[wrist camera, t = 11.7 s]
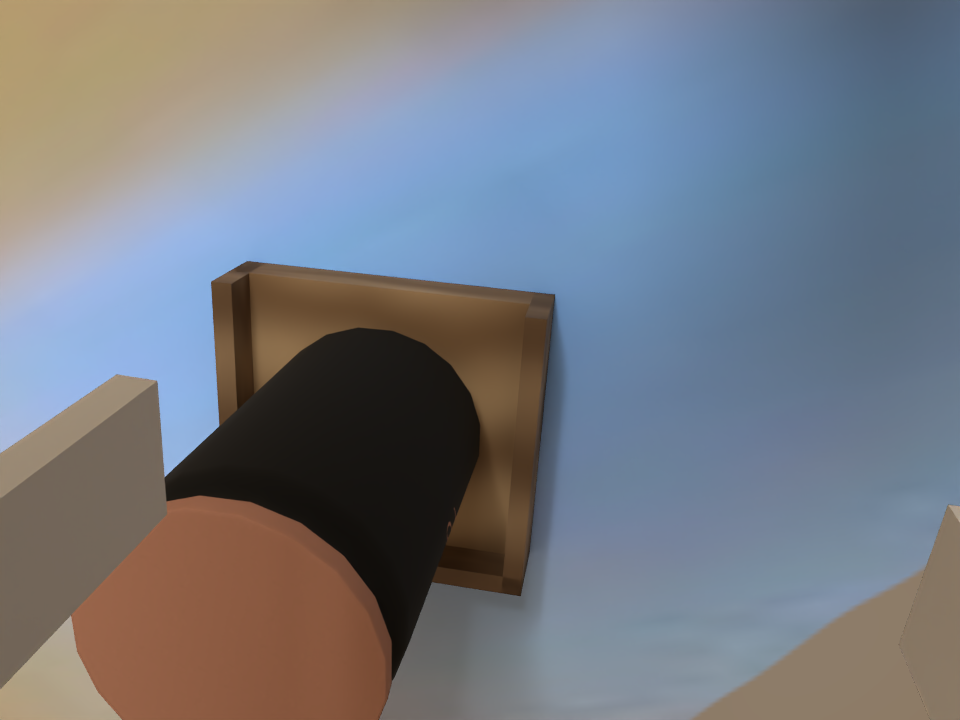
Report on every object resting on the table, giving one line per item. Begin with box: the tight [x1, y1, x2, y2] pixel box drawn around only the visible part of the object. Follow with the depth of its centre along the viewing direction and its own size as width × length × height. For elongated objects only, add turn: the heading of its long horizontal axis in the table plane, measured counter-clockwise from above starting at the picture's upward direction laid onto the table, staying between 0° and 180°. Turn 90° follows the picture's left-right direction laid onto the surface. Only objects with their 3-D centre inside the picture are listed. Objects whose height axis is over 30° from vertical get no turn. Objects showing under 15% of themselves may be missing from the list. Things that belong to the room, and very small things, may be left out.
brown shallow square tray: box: [211, 261, 555, 596], centre depth 43 cm, size 15×16×4 cm
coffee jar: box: [71, 327, 480, 720], centre depth 35 cm, size 11×11×18 cm
